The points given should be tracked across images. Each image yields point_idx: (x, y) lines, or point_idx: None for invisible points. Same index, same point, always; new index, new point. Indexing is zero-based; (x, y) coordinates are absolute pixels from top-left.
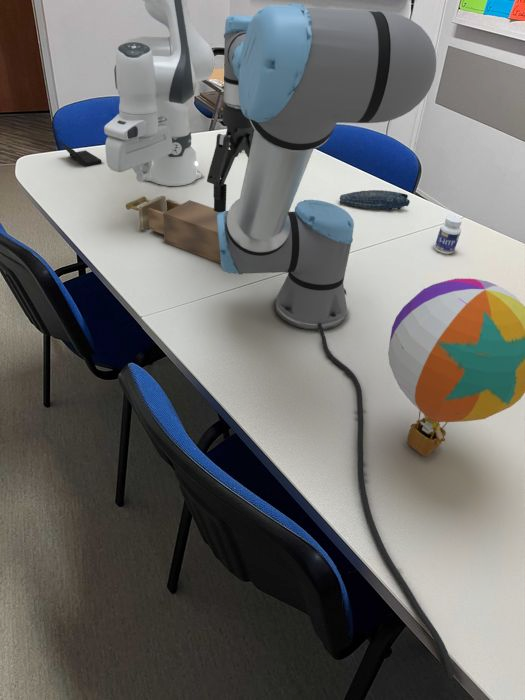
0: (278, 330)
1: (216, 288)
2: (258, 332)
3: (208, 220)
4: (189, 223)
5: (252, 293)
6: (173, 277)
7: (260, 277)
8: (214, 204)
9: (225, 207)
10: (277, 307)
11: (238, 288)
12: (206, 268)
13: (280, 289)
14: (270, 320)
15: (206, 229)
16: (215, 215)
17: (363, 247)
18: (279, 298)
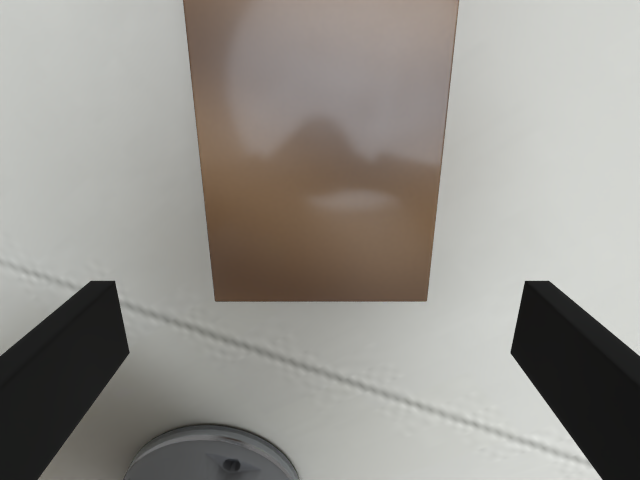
0: (92, 473)
1: (109, 273)
2: None
3: (286, 87)
4: (184, 11)
5: (171, 362)
6: (40, 118)
7: (260, 337)
8: (63, 309)
9: (103, 381)
10: (138, 458)
11: (161, 321)
12: (179, 174)
13: (164, 472)
14: (108, 446)
15: (200, 142)
16: (371, 77)
17: None
18: (137, 477)
